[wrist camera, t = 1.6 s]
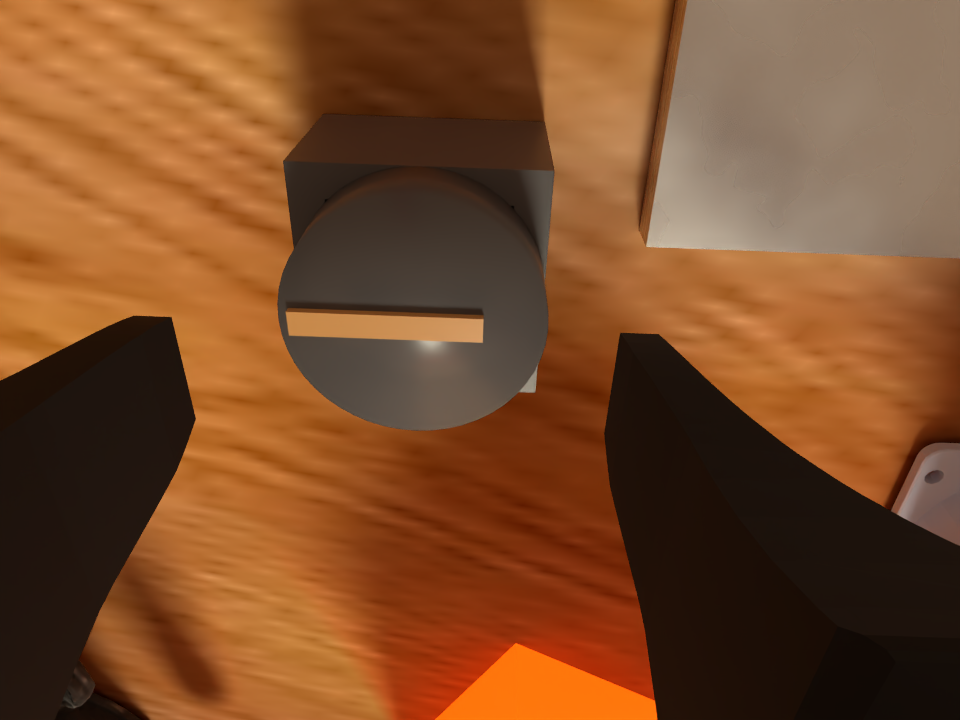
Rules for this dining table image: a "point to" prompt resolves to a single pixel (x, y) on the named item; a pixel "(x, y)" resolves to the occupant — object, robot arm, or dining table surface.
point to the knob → (418, 265)
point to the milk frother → (88, 701)
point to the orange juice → (545, 693)
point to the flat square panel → (809, 128)
